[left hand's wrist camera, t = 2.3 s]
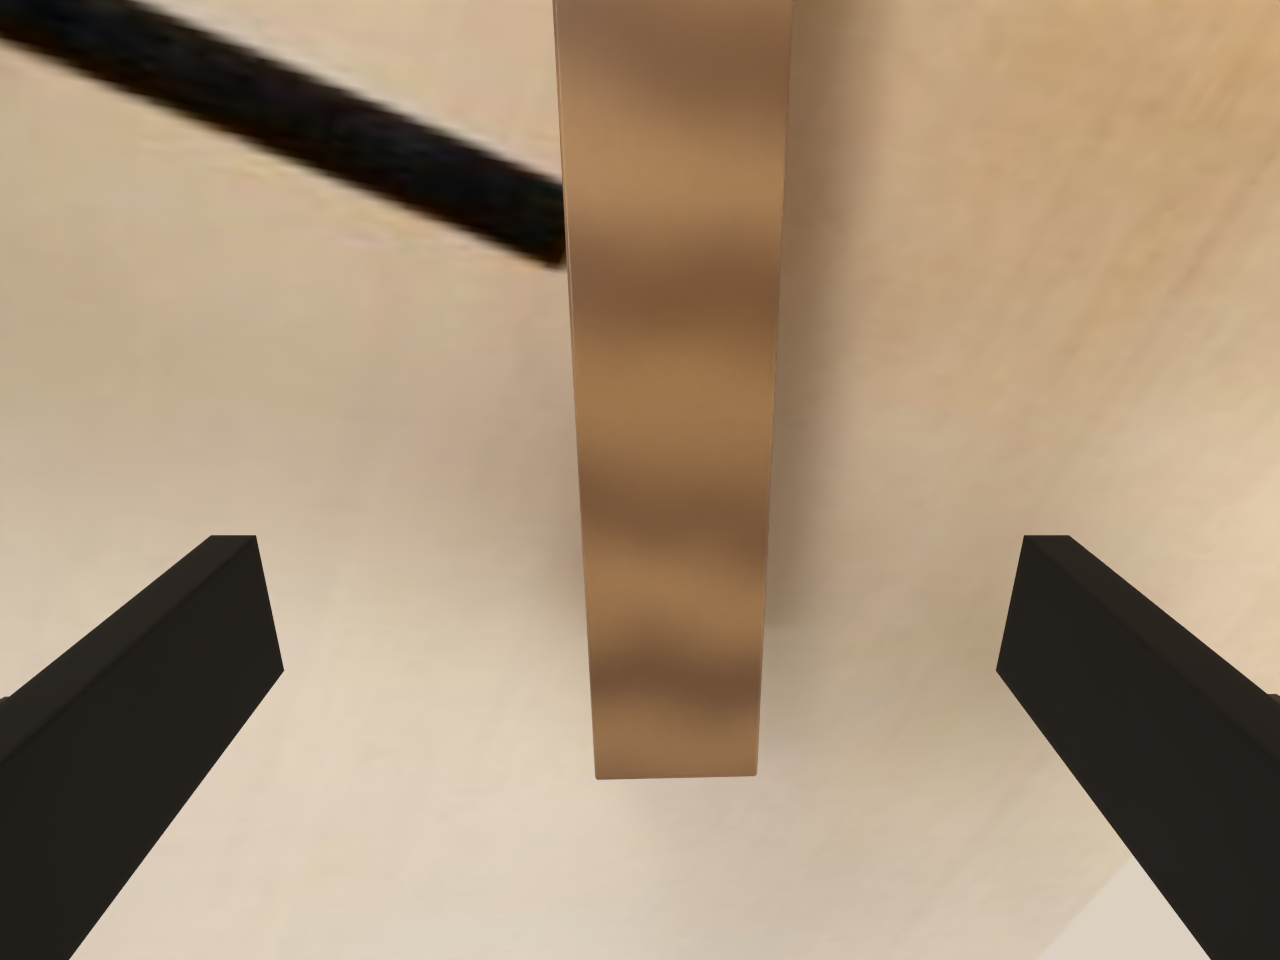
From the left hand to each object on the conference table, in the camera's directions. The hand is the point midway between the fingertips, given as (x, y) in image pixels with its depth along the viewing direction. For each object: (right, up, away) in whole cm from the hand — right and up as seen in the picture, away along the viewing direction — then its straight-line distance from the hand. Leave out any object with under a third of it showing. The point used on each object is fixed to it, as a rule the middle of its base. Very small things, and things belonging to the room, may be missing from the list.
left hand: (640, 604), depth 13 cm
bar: (0, +29, +2) cm, 29 cm away
